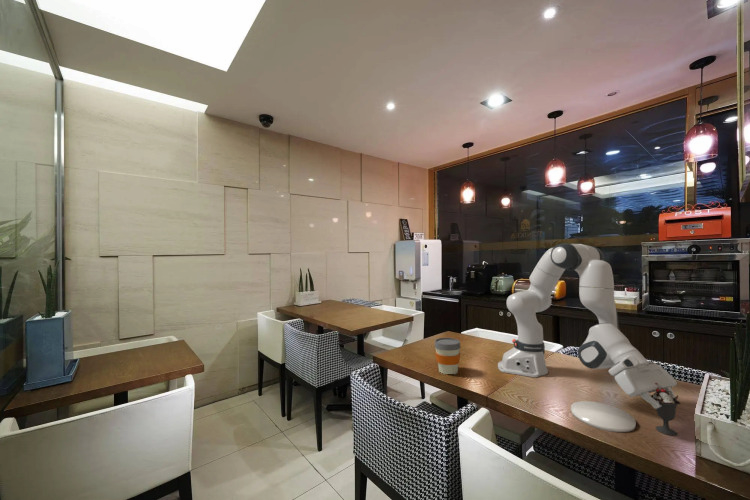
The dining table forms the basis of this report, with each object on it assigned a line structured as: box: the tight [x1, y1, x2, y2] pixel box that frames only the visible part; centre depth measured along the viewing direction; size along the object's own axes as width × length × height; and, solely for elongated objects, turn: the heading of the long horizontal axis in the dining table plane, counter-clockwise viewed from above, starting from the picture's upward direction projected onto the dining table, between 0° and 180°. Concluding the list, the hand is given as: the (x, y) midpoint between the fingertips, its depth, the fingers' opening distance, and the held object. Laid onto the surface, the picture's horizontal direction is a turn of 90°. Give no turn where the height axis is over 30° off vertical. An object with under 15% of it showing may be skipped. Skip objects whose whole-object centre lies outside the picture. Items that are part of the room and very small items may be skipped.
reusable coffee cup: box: [434, 337, 461, 375], centre depth 149 cm, size 13×12×15 cm
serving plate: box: [570, 400, 637, 433], centre depth 105 cm, size 18×18×1 cm
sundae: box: [650, 383, 681, 437], centre depth 96 cm, size 7×7×15 cm
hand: (667, 405), depth 95 cm, fingers closed on sundae, 7 cm apart
